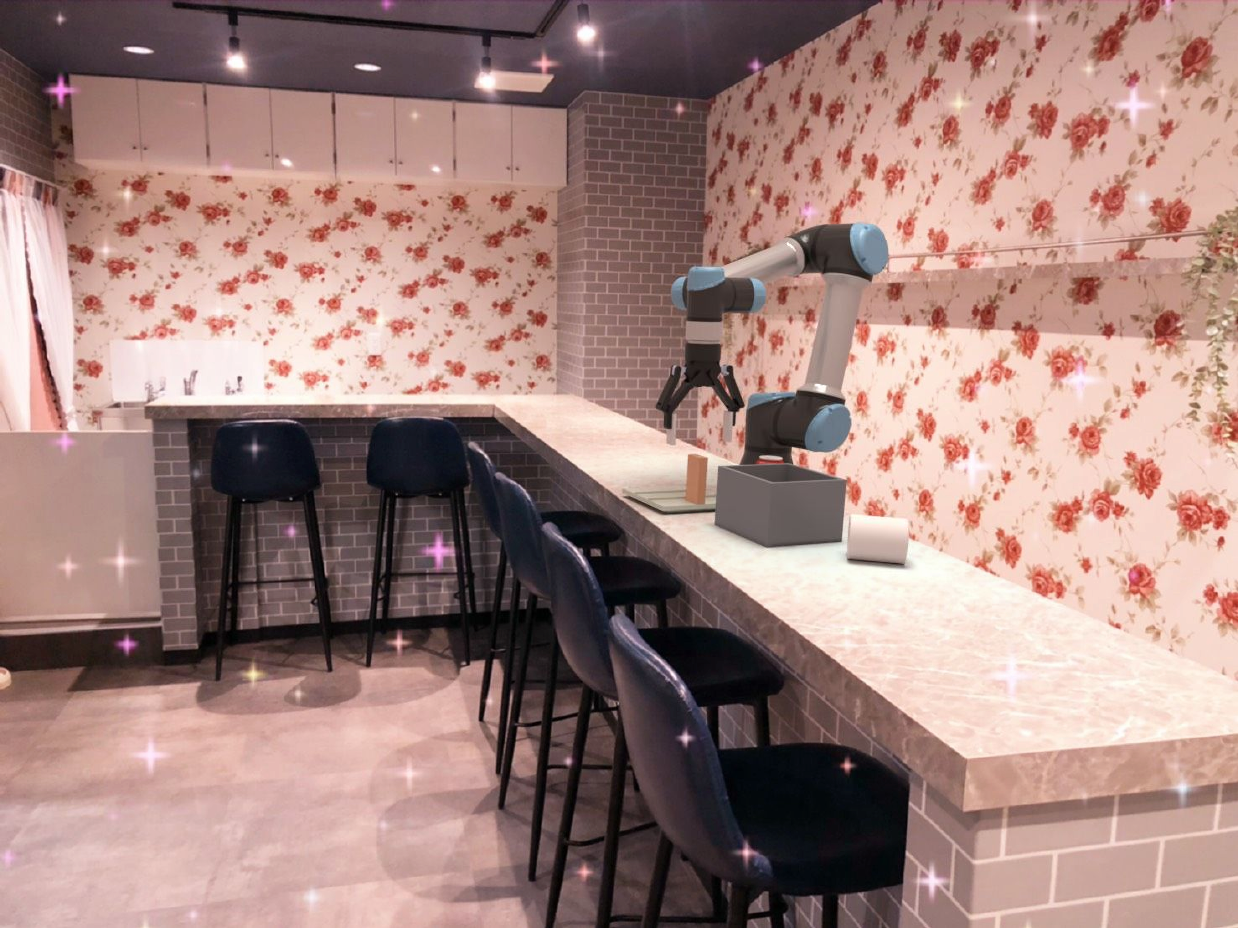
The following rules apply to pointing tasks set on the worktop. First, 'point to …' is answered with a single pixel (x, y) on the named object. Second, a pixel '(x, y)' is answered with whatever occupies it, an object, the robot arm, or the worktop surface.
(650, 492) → the lid
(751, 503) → the tub
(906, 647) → the worktop surface
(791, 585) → the worktop surface
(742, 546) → the worktop surface
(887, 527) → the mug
